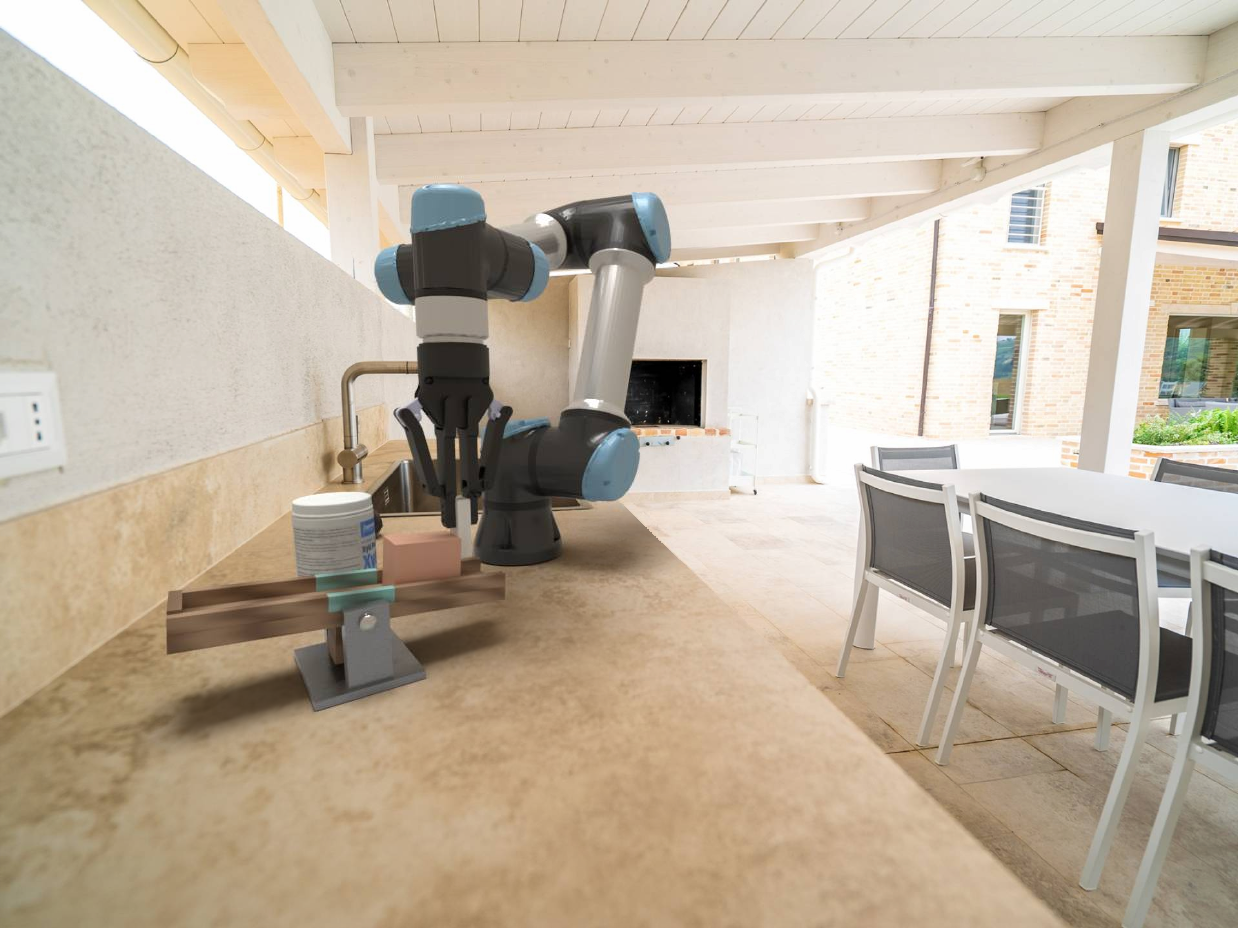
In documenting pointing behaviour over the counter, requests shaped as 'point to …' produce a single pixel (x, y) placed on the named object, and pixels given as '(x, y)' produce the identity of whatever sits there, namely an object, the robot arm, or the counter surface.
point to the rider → (420, 557)
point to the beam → (312, 605)
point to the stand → (358, 658)
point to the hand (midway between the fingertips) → (461, 553)
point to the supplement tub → (333, 533)
